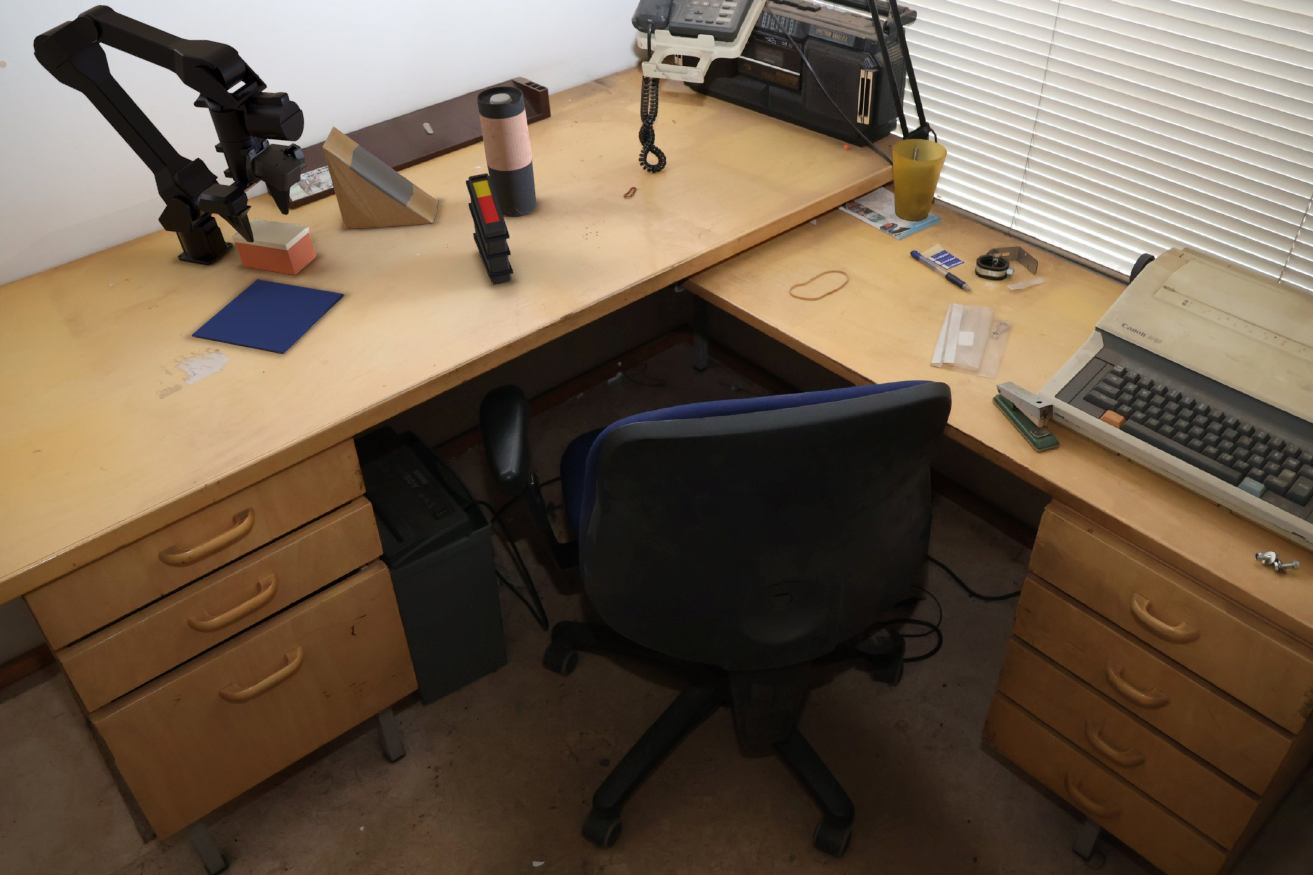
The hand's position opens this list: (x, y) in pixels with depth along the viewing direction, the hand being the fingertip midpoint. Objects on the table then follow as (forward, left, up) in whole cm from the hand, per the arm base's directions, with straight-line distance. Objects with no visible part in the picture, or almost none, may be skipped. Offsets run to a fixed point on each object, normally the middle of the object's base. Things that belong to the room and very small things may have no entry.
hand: (268, 227), depth 160 cm
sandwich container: (+10, +19, -6) cm, 22 cm away
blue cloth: (+8, -14, -6) cm, 17 cm away
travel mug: (+30, +27, -6) cm, 41 cm away
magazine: (+36, +7, -6) cm, 37 cm away
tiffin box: (0, 0, -6) cm, 6 cm away
